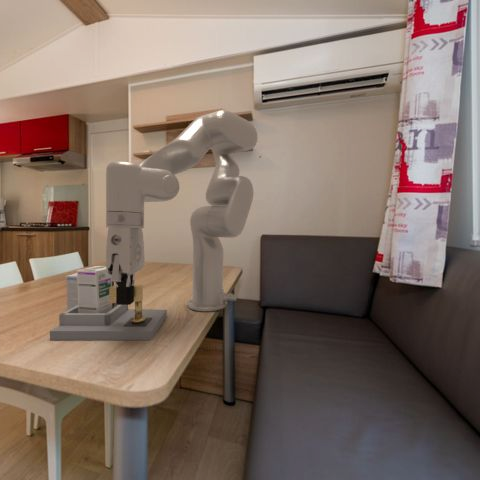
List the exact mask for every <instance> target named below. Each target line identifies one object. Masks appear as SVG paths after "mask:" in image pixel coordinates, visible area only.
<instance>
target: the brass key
mask: <svg viewBox="0 0 480 480" xmlns="http://www.w3.org/2000/svg"><path fill="white" fill-rule="evenodd" d="M143 300H144V285H143V284H136V285H135V284H134V302H133V303H134V309H135V316H134V317H132V318H131V322H132V323H141V322H144V321H145V320H146V317H145V316H142V309H143ZM109 303H116V285H114V286H111V287H110V288H109Z"/></svg>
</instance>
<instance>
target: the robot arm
mask: <svg viewBox="0 0 480 480" xmlns="http://www.w3.org/2000/svg"><path fill="white" fill-rule="evenodd" d="M258 139H259V138H258V133H257V129H256V128H255V126H254V124H253V123H251V122H250V121H249V120H247V119H245V118H244V117H241V116H239V115H238V114H236V113H234V112H232V111H229V110H225V109H222V110H221V109H220V110H216V111H213V112H211V113H206V114H203V115H200V116H198V117H197V118H195V119H194V120H193V121H192V122H190V124H189V125H187V127H186V128H184V129H183V131H182V132H181V133H179V134H178V135H177V137H176V138H174V139H173V140H172V141H170V142H169V143H167V144H166V145H164V146H163V147H161V148H160V149H159V150H157V151H156V152H154V153H153V154H151V155H150V156H149V157H147V158H145V159H144V160H143V161H142V162H140V164H136V163H133V162H128V161H112V162H109V163H108V165H106V170H105V178H106V179H105V181H106V183H105V196H106V197H105V198H106V199H105V201H106V202H105V206H106V207H105V227H106V228H108V229H107V236H106V249H105V266H106V271H107V273H108V274H110V275H112V282H114V286H116V304H117V305H128V306H131V305H132V304H133V303H135V302H134V285H135V280H136V277H135V276H136V273H137V272H140V271H141V270H143V269H144V267H145V243H144V232H143V229H144V228H145V203H153V202H154V203H157V202H167V201H168V202H169V201H170V200H173V199H174V198H176V196H177V195H178V193H179V191H180V182H179V179H178V178H177V176H176V175H178V174H180V173H183V172H185V171H187V170H190V169H191V168H193V167H195V166H196V165H198V164H199V162H200V161H201V160H202V158H204V156H205V155H206V154H207V153H208V152H209V150H211V152H212V155H213V158H214V162H215V166H214V167H215V168H214V170H213V173H212V175H211V178H210V180H209V183H208V185H207V189H206V192H205V200H206V202H207V203H208V204H209V205H206V206H200V207H198V208H196V209H195V210H194V211H193V212H192V213H191V216H190V218H189V219H190V221H189V222H190V231H191V234H192V235H191V236H192V245H193V246H192V248H193V249H192V254H193V255H192V298H191V299H189V300H188V301H187V307H188V308H189V309H190V310H193V311H197V312H216V311H221V310H223V309H225V308H227V307H228V301H231V302H236V301H238V300H237V299H238V298H237V297H238V296H237V295H238V294H233V293H231V292H229V293H226V292H225V289H223V288H224V285H223V283H224V248H223V244H222V243H221V240H220V238H231V239H233V238H237V237H239V236H240V235H241V234H242V232H243V231H244V229H245V226H246V223H247V220H248V216H249V214H250V210H251V206H252V204H253V199H254V187H253V183H252V182H251V180H250V178H248V177H246V176H243V175H240V171H241V170H240V166H239V165H238V163H237V162H236V160H235V159H234V157H233V155H232V154H234V153H235V154H236V153H241V152H248V151H250V150H253V149H254V148H255V147H256V145H257V142H258Z"/></svg>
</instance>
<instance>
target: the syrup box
mask: <svg viewBox="0 0 480 480" xmlns="http://www.w3.org/2000/svg"><path fill="white" fill-rule="evenodd" d="M76 273H77V281H78V313H108V312H109V311H110V310H112V309H113V308H115V306H114V303H109V288H110V287H111V286H115V282H112V275H110V274H108V273H107V271H106V265H95V266H91V267H86V268H82V269H81V268H80V269H77V270H76Z"/></svg>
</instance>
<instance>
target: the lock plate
mask: <svg viewBox="0 0 480 480" xmlns="http://www.w3.org/2000/svg"><path fill="white" fill-rule="evenodd" d="M114 306H115V308H113V309H112V310H110V311H109V312H108V313H78V305H77V306H75V307H73V308H71V309H69V310H67V309H66V311H63V312H62V313H59V315H58V323H59V324H58V326H56V327H54V328H53V329H51V330H49V340H50V341H152V340H153V338H154V337H155V335H156V334H157V332H158V331H159V329H160V327H161V326H162V325H163V323H164V321H166V318H168V317H167V316H168V314H167V312H168V310H167V309H150V308H149V309H143V308H142V316H145V317H146V320H145V321H144V322H141V323H132V322H131V318H132V317H134V316H135V308H134V309H133V308H132V309H129V305H117V304H116V303H114Z"/></svg>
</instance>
